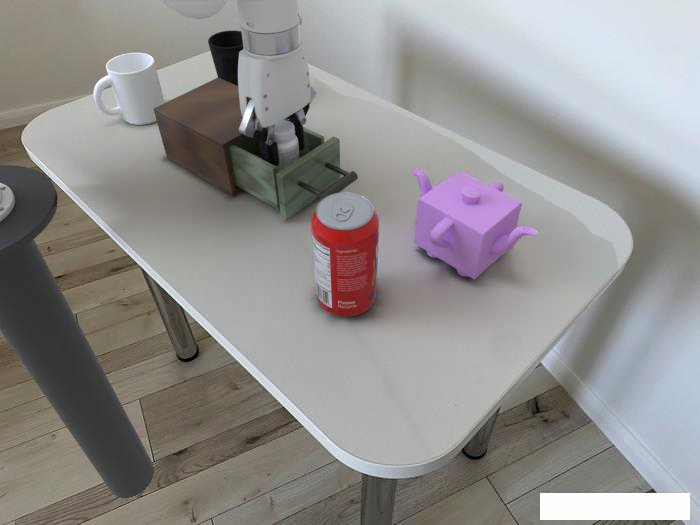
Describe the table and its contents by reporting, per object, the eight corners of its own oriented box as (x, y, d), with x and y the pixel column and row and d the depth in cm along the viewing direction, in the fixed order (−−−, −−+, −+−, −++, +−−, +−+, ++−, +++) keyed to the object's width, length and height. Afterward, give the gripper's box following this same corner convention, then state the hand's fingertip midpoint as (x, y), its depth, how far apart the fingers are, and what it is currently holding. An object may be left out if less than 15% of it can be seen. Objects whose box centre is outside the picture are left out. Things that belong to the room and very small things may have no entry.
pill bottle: (304, 167, 91) (301, 120, 85) (295, 185, 88) (291, 137, 82) (275, 163, 92) (270, 116, 86) (266, 181, 89) (259, 133, 83)
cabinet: (292, 158, 98) (287, 107, 91) (232, 196, 91) (222, 144, 84) (226, 126, 106) (218, 77, 99) (167, 158, 98) (153, 108, 92)
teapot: (509, 222, 86) (523, 161, 78) (523, 288, 76) (541, 226, 69) (406, 219, 87) (411, 159, 79) (407, 284, 77) (413, 222, 69)
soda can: (306, 311, 74) (298, 222, 63) (329, 270, 79) (325, 182, 68) (364, 328, 72) (366, 239, 61) (384, 284, 77) (388, 196, 66)
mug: (110, 137, 103) (92, 84, 96) (96, 117, 108) (78, 65, 101) (173, 117, 108) (160, 65, 101) (158, 99, 113) (144, 48, 106)
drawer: (368, 194, 89) (369, 152, 84) (315, 236, 83) (312, 192, 77) (272, 147, 99) (267, 106, 94) (217, 180, 92) (208, 138, 87)
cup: (219, 110, 110) (208, 49, 101) (217, 91, 115) (207, 32, 107) (260, 106, 111) (252, 45, 102) (256, 87, 116) (248, 28, 108)
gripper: (295, 9, 81) (303, 123, 94) (201, 50, 72) (224, 171, 84) (335, 22, 77) (338, 139, 90) (242, 67, 68) (260, 190, 81)
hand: (283, 153), depth 87 cm, fingers closed on pill bottle, 4 cm apart
